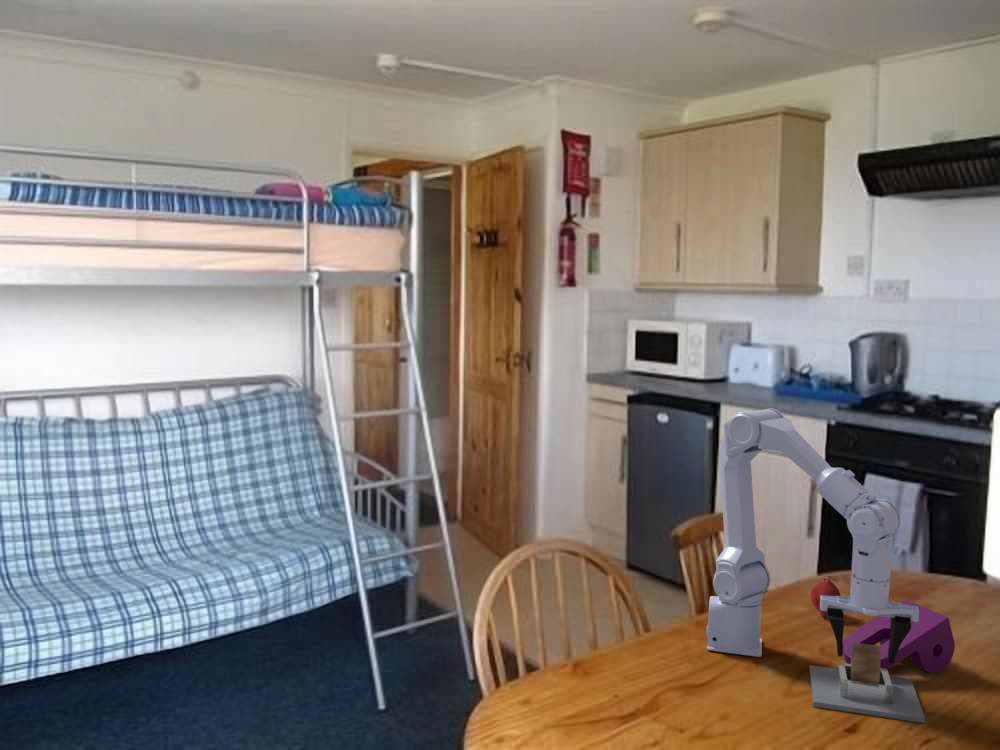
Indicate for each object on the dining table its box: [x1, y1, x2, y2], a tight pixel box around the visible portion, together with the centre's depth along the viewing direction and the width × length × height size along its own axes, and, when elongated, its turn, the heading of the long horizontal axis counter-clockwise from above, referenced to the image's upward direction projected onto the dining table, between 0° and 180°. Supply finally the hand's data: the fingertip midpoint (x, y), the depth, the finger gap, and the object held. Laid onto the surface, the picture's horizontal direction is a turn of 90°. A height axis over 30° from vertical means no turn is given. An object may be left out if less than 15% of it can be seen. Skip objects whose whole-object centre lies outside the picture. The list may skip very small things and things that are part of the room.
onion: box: [809, 576, 842, 617], centre depth 175 cm, size 6×6×8 cm
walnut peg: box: [850, 642, 881, 684], centre depth 140 cm, size 4×4×7 cm
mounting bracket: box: [843, 598, 956, 673], centre depth 152 cm, size 9×8×18 cm
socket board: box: [809, 662, 926, 724], centre depth 141 cm, size 16×14×3 cm
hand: (865, 657), depth 140 cm, fingers open, 7 cm apart
